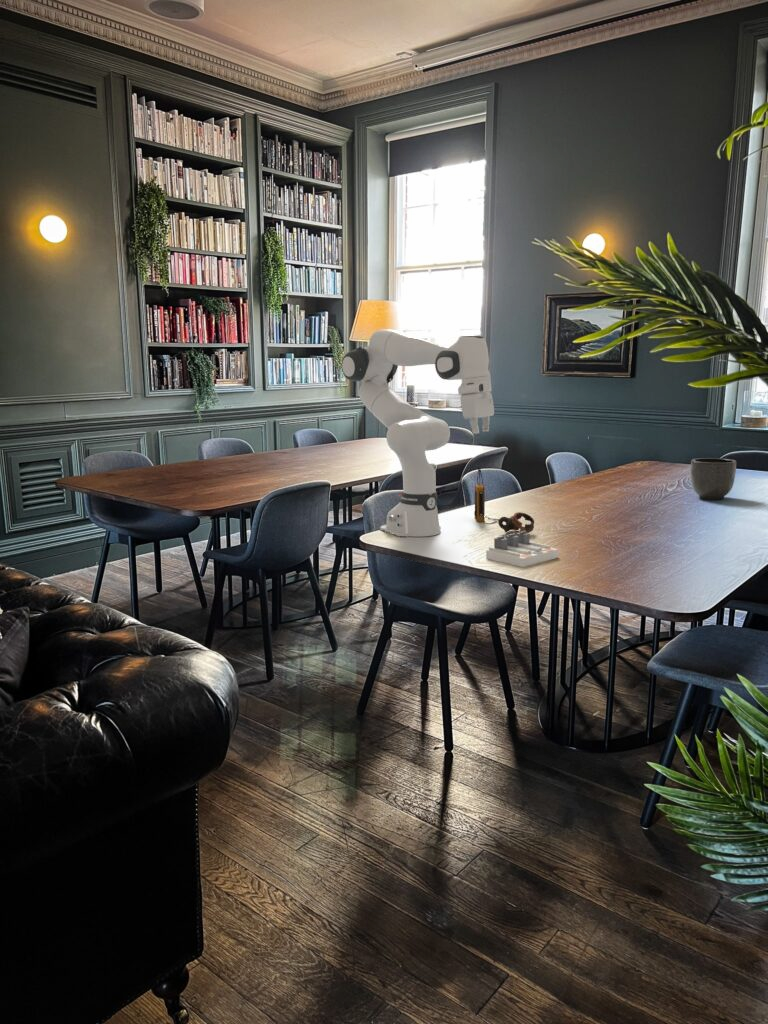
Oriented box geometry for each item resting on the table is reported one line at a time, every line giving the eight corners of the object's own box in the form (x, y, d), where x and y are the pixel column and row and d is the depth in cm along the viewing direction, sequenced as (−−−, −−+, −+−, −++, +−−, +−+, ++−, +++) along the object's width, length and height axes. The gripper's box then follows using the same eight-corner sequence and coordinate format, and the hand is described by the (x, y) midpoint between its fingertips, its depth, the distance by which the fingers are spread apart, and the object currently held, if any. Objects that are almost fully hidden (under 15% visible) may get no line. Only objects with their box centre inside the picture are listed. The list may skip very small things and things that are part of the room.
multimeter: (506, 524, 276) (506, 469, 272) (478, 524, 276) (478, 469, 272) (499, 516, 291) (500, 463, 287) (473, 516, 290) (473, 464, 287)
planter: (683, 495, 329) (685, 458, 326) (724, 494, 328) (726, 457, 325) (697, 502, 312) (700, 463, 309) (740, 501, 311) (743, 462, 308)
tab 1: (494, 549, 227) (494, 536, 226) (499, 548, 229) (499, 535, 228) (501, 551, 225) (502, 538, 224) (507, 549, 226) (507, 536, 226)
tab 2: (516, 543, 233) (516, 531, 233) (521, 542, 235) (521, 530, 234) (524, 545, 231) (524, 532, 230) (529, 544, 233) (529, 531, 232)
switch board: (486, 558, 228) (486, 547, 227) (521, 549, 238) (521, 539, 237) (523, 567, 217) (523, 555, 216) (558, 557, 227) (558, 546, 226)
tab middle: (505, 546, 230) (505, 533, 229) (510, 545, 232) (510, 532, 231) (513, 548, 228) (513, 535, 227) (518, 547, 229) (518, 534, 229)
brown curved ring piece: (525, 531, 266) (534, 512, 261) (529, 548, 259) (539, 530, 254) (492, 524, 264) (501, 505, 259) (496, 541, 257) (505, 522, 252)
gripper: (477, 388, 245) (481, 431, 247) (455, 389, 227) (460, 435, 229) (496, 385, 242) (500, 429, 244) (476, 386, 224) (480, 433, 226)
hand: (481, 432), depth 236 cm, fingers open, 8 cm apart
